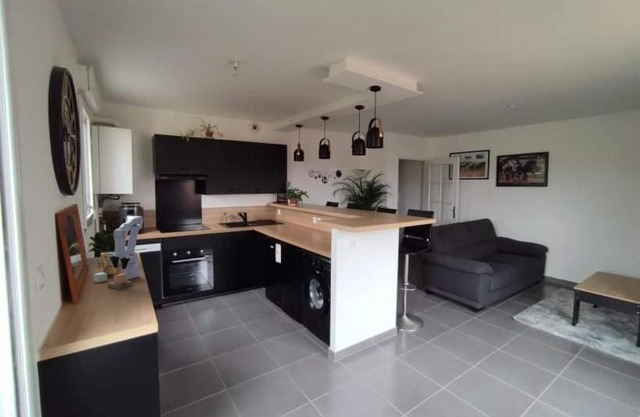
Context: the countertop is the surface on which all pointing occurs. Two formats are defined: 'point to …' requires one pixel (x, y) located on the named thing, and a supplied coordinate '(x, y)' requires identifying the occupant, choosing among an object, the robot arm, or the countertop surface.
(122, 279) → the terracotta cube
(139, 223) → the robot arm
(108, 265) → the candy box
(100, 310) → the countertop surface
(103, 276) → the sage cube
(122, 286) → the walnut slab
